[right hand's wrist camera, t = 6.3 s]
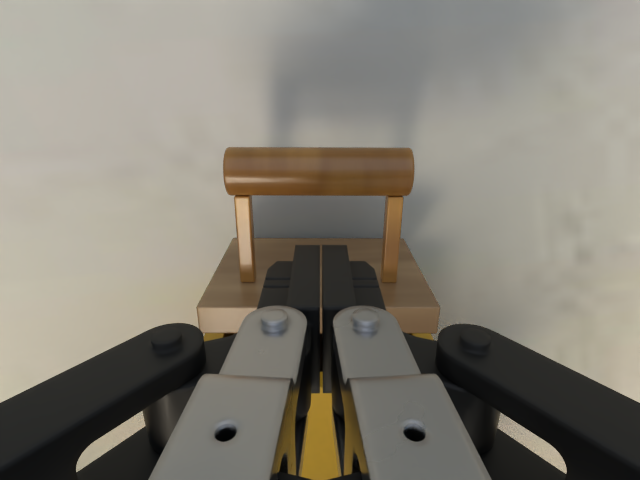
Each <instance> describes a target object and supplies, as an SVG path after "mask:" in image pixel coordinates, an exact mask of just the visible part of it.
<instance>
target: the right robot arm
mask: <svg viewBox="0 0 640 480" xmlns="http://www.w3.org/2000/svg"><path fill="white" fill-rule="evenodd" d="M322 362H323V393H332V428H333V436H334V444H335V452H336V459H337V467H338V475H339V477H336V478H332V479H328V480H640V403H638V402H636V401H634V400H632V399H630V398H628V397H626V396H624V395H622V394H620V393H618V392H616V391H614V390H612V389H610V388H608V387H606V386H604V385H602V384H600V383H598V382H596V381H594V380H592V379H590V378H588V377H586V376H584V375H582V374H580V373H578V372H575V371H573V370H571V369H569V368H567V367H565V366H563V365H561V364H559V363H557V362H555V361H553V360H551V359H549V358H547V357H545V356H543V355H541V354H539V353H537V352H535V351H533V350H531V349H529V348H527V347H525V346H523V345H521V344H519V343H517V342H514V341H512V340H510V339H508V338H506V337H504V336H502V335H500V334H498V333H496V332H494V331H492V330H490V329H487V328H484V327H481V326H477V325H471V324H456V325H451V326H448V327H446V328H444V329H443V330H441V332H440V333H439V335H438V341H435V340H430V339H425V338H420V337H416V336H413V335H410V334H407V333H405V332H403V331H402V330H401V328H400V326H399V324H398V321H397V320H396V318H395V317H394V316H393V315H392V314H391V313H389V312H387V311H386V308H385V304H384V301H383V297H382V294H381V290H380V288H379V283H378V280H377V276H376V272H375V269H374V268H373V267H372V266H370V265H369V264H368V263H367V262H366V261H349V256H348V249H347V245H322ZM311 393H320V245H295V251H294V258H293V261H277V262H275V263H274V264H273V265H272V266H271V267H269V268H268V270H267V274H266V277H265V281H264V285H263V288H262V292H261V296H260V299H259V303H258V307H257V310H255V311H253V312H251V313H249V314H248V315H247V316H246V317H245V318H244V320H243V321H242V324H241V326H240V328H239V330H238V333H236V334H234V335H231V336H228V337H224V338H219V339H214V340H209V341H204V336H203V333H202V331H201V330H200V329H199V328H197V327H195V326H193V325H190V324H184V323H173V324H166V325H162V326H158V327H155V328H152V329H150V330H148V331H146V332H144V333H142V334H140V335H138V336H136V337H134V338H132V339H130V340H128V341H126V342H123V343H121V344H119V345H117V346H115V347H113V348H111V349H109V350H107V351H105V352H103V353H101V354H99V355H97V356H95V357H93V358H91V359H89V360H87V361H85V362H83V363H81V364H79V365H77V366H75V367H73V368H71V369H69V370H67V371H65V372H63V373H60V374H58V375H56V376H54V377H52V378H50V379H48V380H46V381H44V382H42V383H40V384H38V385H36V386H34V387H32V388H30V389H28V390H26V391H24V392H22V393H20V394H18V395H16V396H14V397H12V398H10V399H8V400H6V401H4V402H2V403H0V480H312V479H308V478H304V477H301V475H302V467H303V459H304V452H305V444H306V436H307V428H308V411H309V409H310V406H311ZM142 410H143V415H144V420H145V425H146V426H145V427H144V428H142V429H141V430H139V431H138V432H136V433H135V434H133V435H132V436H130V437H129V438H127V439H126V440H124V441H123V442H121V443H120V444H118V445H117V446H115V447H114V448H112V449H111V450H110V451H108V452H107V453H105V454H104V455H102V456H101V457H99V458H98V459H96V460H95V461H93V462H92V463H90V464H89V465H87V466H86V467H84V468H83V469H81V470H80V471H78V472H77V473H76V464H77V461H78V459H79V457H80V455H81V454H82V452H83V451H84V450H85V449H86V448H87V447H88V446H89V445H90V444H91V443H92V442H94V441H95V440H97V439H98V438H100V437H101V436H103V435H105V434H106V433H108V432H109V431H111V430H112V429H114V428H116V427H117V426H119V425H120V424H122V423H123V422H125V421H126V420H128V419H130V418H131V417H133V416H134V415H136V414H137V413H139V412H141V411H142ZM500 412H501V413H503V414H504V415H506V416H507V417H509V418H510V419H512V420H514V421H515V422H517V423H518V424H520V425H521V426H523V427H524V428H526V429H528V430H529V431H531V432H532V433H534V434H535V435H537V436H539V437H540V438H542V439H543V440H545V441H546V442H548V443H549V444H551V445H552V446H553V447H554V448H555V449H556V450H557V451H558V452H559V453H560V455H561V456H562V458H563V459H564V461H565V464H566V467H567V474H565V473H563V472H562V471H560V470H559V469H557V468H556V467H554V466H553V465H551V464H550V463H548V462H547V461H545V460H544V459H542V458H541V457H539V456H538V455H536V454H535V453H533V452H532V451H530V450H529V449H528V448H526V447H525V446H523V445H522V444H520V443H519V442H517V441H516V440H514V439H513V438H511V437H510V436H508V435H507V434H505V433H504V432H502V431H501V430H499V429H498V428H497V426H498V421H499V416H500Z"/></svg>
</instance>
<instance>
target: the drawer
mask: <svg viewBox="0 0 640 480" xmlns="http://www.w3.org/2000/svg"><path fill="white" fill-rule="evenodd" d="M223 175H224V183H225V188H226V191H227V193H228V194H229V195H235V197H234V202H235V216H236V229H237V238H233V239H232V241H231V243H230V245H229V247H228V249H227V251H226V253H225V254H224V256H223V258H222V260H221V262H220V264H219V266H218V268H217V270H216V271H215V273H214V275H213V277H212V279H211V281H210V283H209V285H208V287H207V288H206V290H205V292H204V294H203V296H202V298H201V300H200V302H199V303H198V305H197V315H198V323H199V329H200V330H201V331H202V333H234V334H236V333H238V330H239V328H240V326H241V324H242V321H243V320H244V318H245V317H246V316H247V315H248V314H249V313H251V312H253V311H255V310H257V307H258V303H259V299H260V296H261V292H262V288H263V285H264V281H265V277H266V274H267V270H268V268H269V267H271V266H272V265H273V264H274V263H275V262H277V261H293V258H294V251H295V245H320V372H323V362H322V245H347V249H348V256H349V261H366V262H367V263H368V264H369V265H370V266H372V267H373V268H374V269H375V272H376V276H377V280H378V283H379V288H380V290H381V294H382V297H383V301H384V304H385V308H386V311H387V312H389V313H391V314H392V315H393V316H394V317H395V318H396V320H397V321H398V324H399V326H400V328H401V330H402V331H403V332H405V333H437V328H438V320H439V313H440V306H439V304H438V302H437V301H436V299H435V297H434V295H433V293H432V291H431V289H430V287H429V286H428V284H427V282H426V280H425V278H424V276H423V274H422V272H421V271H420V269H419V267H418V265H417V263H416V261H415V259H414V258H413V256H412V254H411V252H410V250H409V248H408V246H407V244H406V243H405V241H404V239H400V233H401V221H402V209H403V196H407V195H409V194H410V193H411V190H412V187H413V181H414V156H413V152H412V150H411V149H410V148H306V147H229V148H227V149H226V151H225V154H224V161H223ZM252 195H309V196H386V199H385V215H384V230H383V239H379V238H254V228H253V210H252Z"/></svg>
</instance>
